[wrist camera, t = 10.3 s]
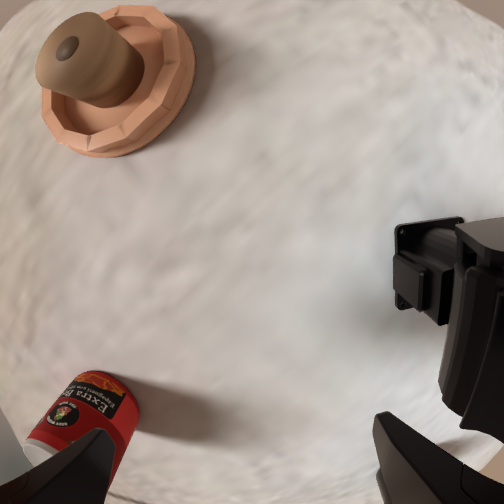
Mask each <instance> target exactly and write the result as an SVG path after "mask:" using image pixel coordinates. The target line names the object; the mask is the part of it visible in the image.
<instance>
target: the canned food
mask: <svg viewBox="0 0 504 504" xmlns="http://www.w3.org/2000/svg"><path fill="white" fill-rule="evenodd" d="M138 421H139V407H138V404H137V402H136V400H135V398H134V396H133V395H132V394H131V393H130V391H129V390H128V389H127V388H126V387H125V386H124V385H122V384H121V383H120V382H119V381H117V380H116V379H114V378H113V377H111V376H109V375H107V374H104V373H101V372H97V371H87V372H84V373H82V374H80V375H78V376H77V377H76V378H75V379H74V380H73V381H72V382H71V383H70V385H69V386H68V387H67V388H66V389H65V391H64V392H63V393H62V394H61V395H60V397H59V398H58V399H57V400H56V402H55V403H54V404H53V405H52V406H51V408H50V409H49V410H48V411H47V413H46V414H45V415H44V416H43V418H42V419H41V420H40V421H39V423H38V424H37V425H36V427H35V428H34V429H33V430H32V432H31V433H30V435H29V436H28V437H27V439H26V441H25V443H24V444H23V451H24V453H25V455H26V456H27V458H28V459H29V461H30V462H31V463H32V464H33V466H34V467H36V466H37V465H39V464H41V463H42V462H44V461H45V460H47V459H49V458H50V457H52V456H53V455H55V454H56V453H58V452H59V451H61V450H63V449H64V448H66V447H67V446H69V445H70V444H72V443H73V442H75V441H76V440H78V439H79V438H81V437H82V436H84V435H85V434H87V433H88V432H89V431H91V430H92V429H94V428H101V429H105V430H106V431H107V432H108V434H109V435H110V437H111V438H112V440H113V441H114V443H115V446H116V450H115V456H114V461H113V467H112V473H111V478H110V483H109V487H110V485H111V483H112V481H113V478H114V476H115V474H116V471H117V469H118V467H119V465H120V462H121V460H122V458H123V455H124V453H125V451H126V449H127V446H128V444H129V442H130V440H131V438H132V435H133V433H134V431H135V429H136V427H137V424H138ZM109 487H108V489H109ZM107 492H108V490H107Z"/></svg>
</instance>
